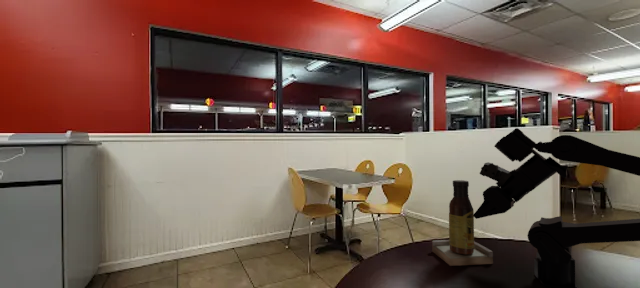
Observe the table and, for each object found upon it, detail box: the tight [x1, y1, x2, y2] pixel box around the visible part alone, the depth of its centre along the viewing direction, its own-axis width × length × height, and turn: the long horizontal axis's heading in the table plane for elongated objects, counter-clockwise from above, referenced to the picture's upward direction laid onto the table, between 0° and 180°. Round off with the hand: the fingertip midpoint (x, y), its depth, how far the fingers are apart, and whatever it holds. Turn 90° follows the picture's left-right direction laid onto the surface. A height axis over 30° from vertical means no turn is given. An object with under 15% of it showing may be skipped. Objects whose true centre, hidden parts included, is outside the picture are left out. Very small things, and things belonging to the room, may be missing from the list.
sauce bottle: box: [448, 179, 475, 255], centre depth 78 cm, size 7×6×20 cm
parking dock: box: [431, 239, 494, 267], centre depth 80 cm, size 12×10×3 cm
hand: (479, 213), depth 76 cm, fingers open, 9 cm apart
